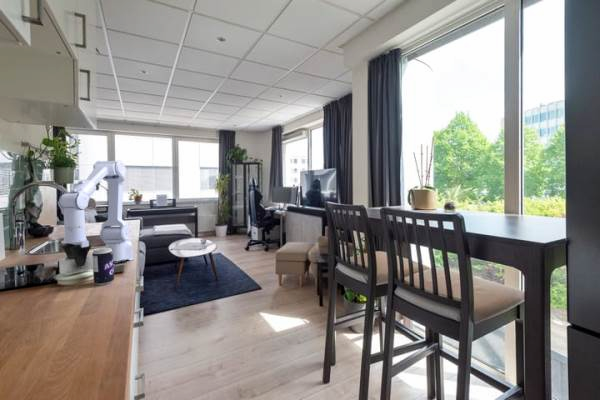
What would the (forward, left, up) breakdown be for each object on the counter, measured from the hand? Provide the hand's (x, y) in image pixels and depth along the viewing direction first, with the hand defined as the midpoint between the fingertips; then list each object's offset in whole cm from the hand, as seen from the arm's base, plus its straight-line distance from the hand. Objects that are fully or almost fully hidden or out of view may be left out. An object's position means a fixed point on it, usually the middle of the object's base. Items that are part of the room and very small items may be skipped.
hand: (77, 265), depth 99 cm
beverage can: (-3, +12, -6) cm, 14 cm away
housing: (0, 0, -2) cm, 2 cm away
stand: (0, 0, -5) cm, 5 cm away
